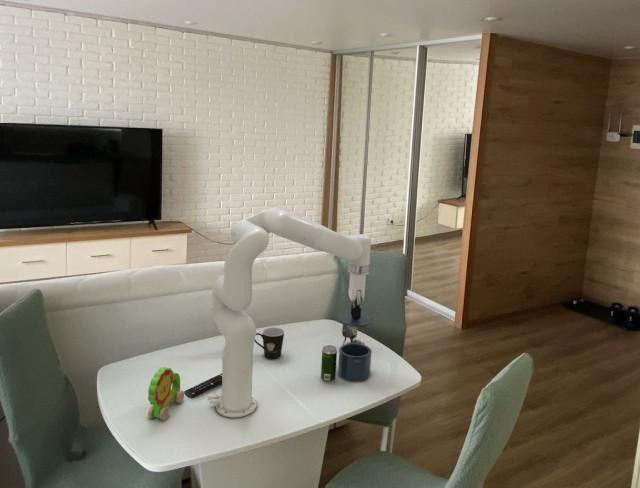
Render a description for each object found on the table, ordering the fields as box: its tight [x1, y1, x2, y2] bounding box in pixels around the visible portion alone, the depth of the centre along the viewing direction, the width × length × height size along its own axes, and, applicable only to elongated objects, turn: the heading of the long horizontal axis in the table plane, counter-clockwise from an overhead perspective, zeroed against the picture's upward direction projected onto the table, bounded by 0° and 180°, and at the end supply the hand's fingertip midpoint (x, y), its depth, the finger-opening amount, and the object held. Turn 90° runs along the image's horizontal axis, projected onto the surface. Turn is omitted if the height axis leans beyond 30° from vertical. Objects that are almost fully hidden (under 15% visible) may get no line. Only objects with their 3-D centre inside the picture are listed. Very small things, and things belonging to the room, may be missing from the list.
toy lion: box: [147, 366, 185, 421], centre depth 164 cm, size 16×6×15 cm, turn 170°
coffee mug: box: [254, 327, 285, 361], centre depth 207 cm, size 12×9×10 cm
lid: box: [337, 312, 374, 328], centre depth 193 cm, size 13×13×7 cm
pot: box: [337, 341, 372, 383], centre depth 195 cm, size 12×17×10 cm
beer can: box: [320, 344, 338, 384], centre depth 190 cm, size 5×5×12 cm
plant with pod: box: [341, 303, 365, 346], centre depth 217 cm, size 8×11×20 cm
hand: (355, 316), depth 193 cm, fingers closed on lid, 2 cm apart
